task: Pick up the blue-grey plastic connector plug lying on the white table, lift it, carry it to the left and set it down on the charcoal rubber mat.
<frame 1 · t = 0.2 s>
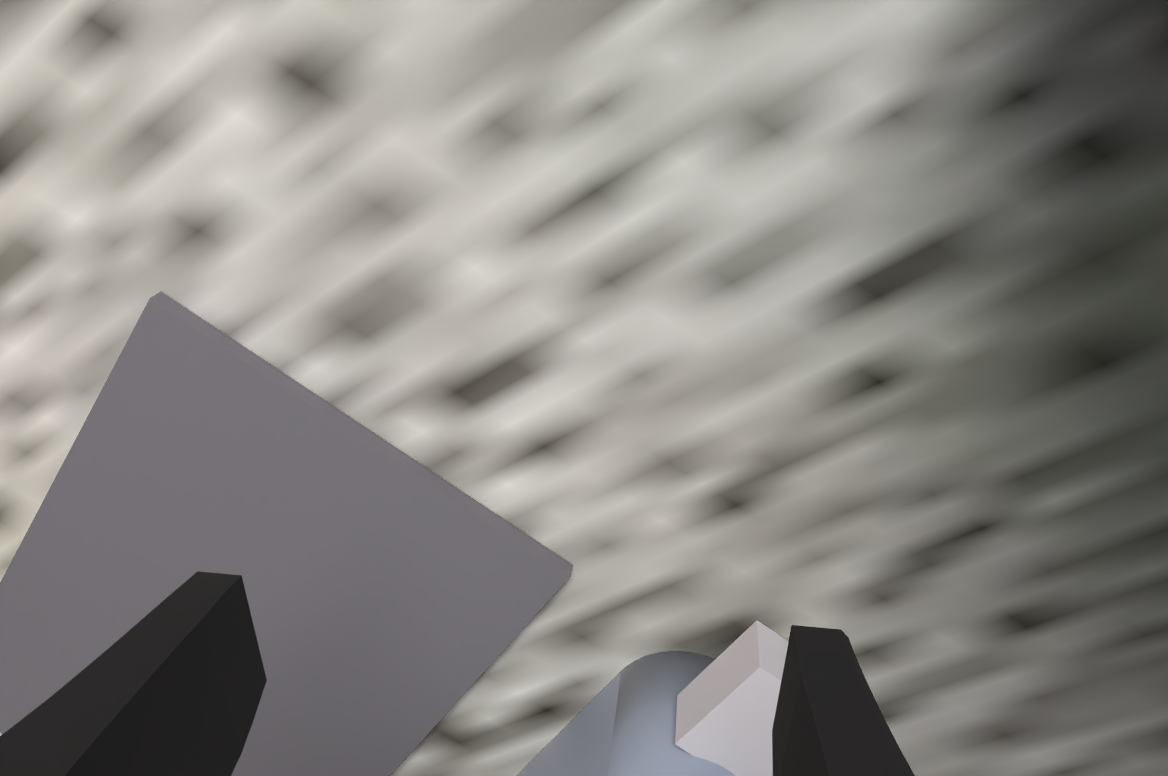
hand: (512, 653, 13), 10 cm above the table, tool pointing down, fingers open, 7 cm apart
mat: (235, 630, 27), on the table
connector: (615, 769, 28), on the table
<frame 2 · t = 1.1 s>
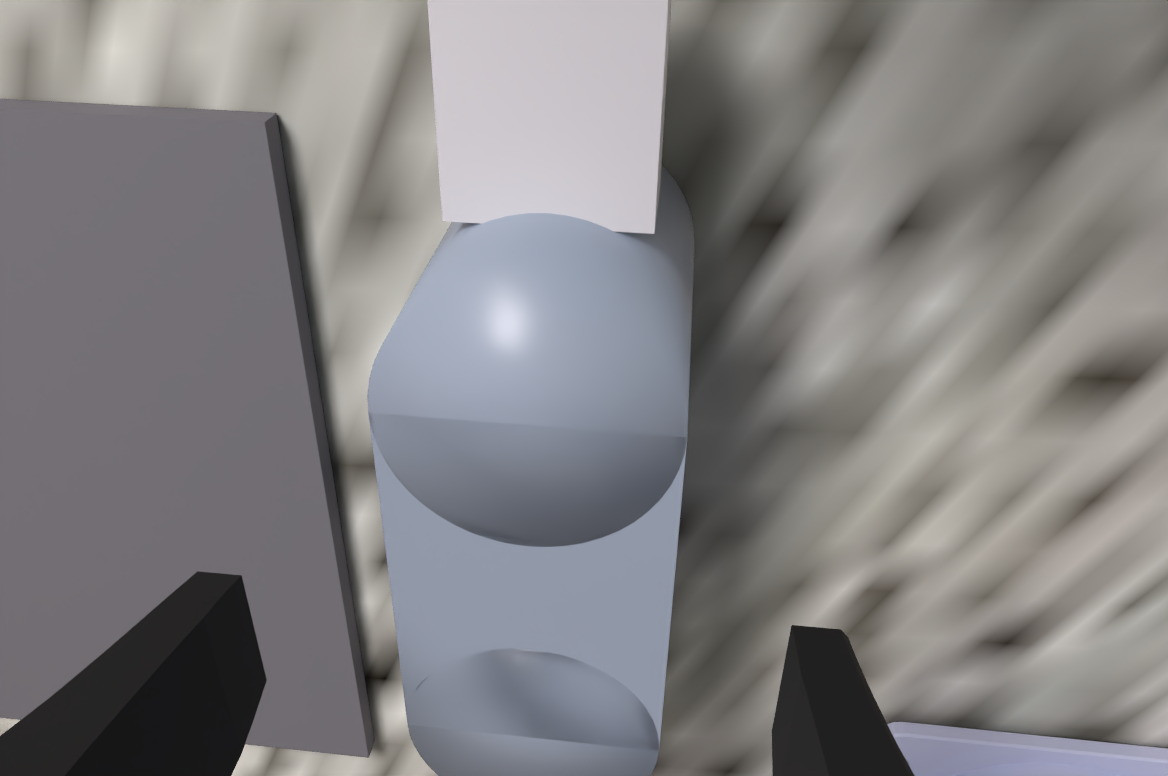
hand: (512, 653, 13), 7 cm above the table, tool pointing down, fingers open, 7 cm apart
mat: (63, 470, 21), on the table
connector: (575, 389, 18), on the table
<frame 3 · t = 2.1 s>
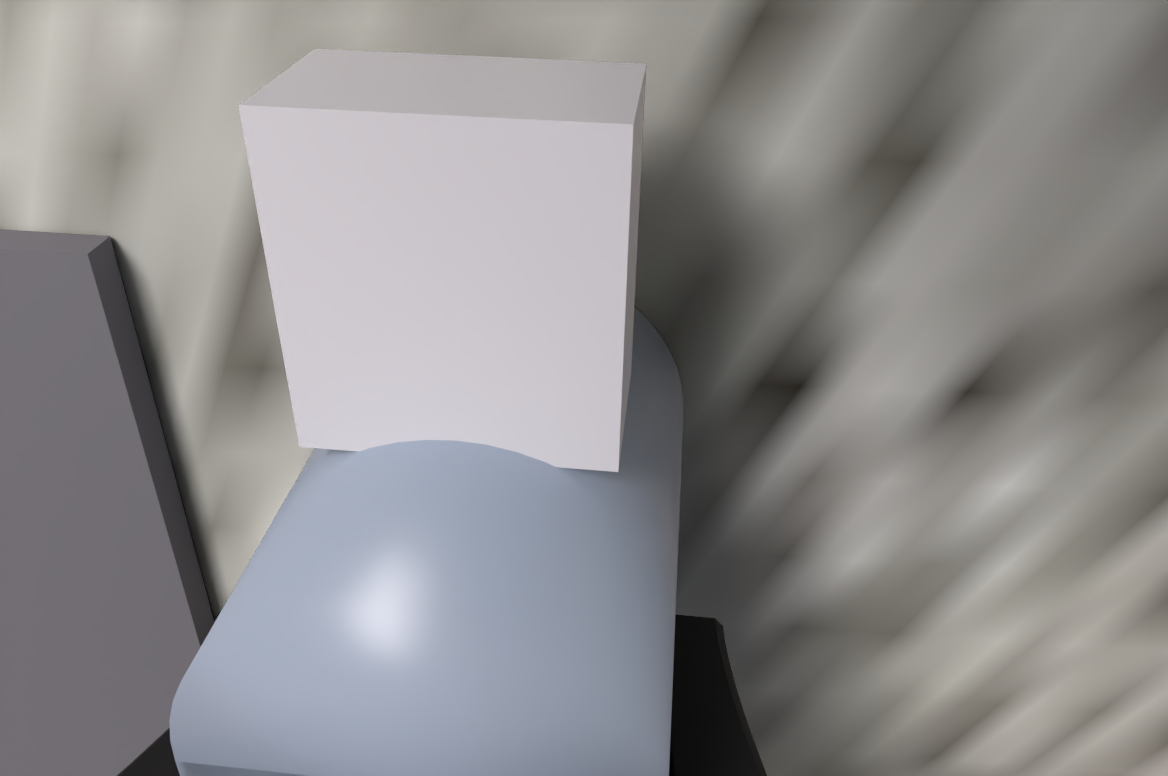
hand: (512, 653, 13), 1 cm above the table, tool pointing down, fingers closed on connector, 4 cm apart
connector: (529, 577, 14), on the table, touching gripper
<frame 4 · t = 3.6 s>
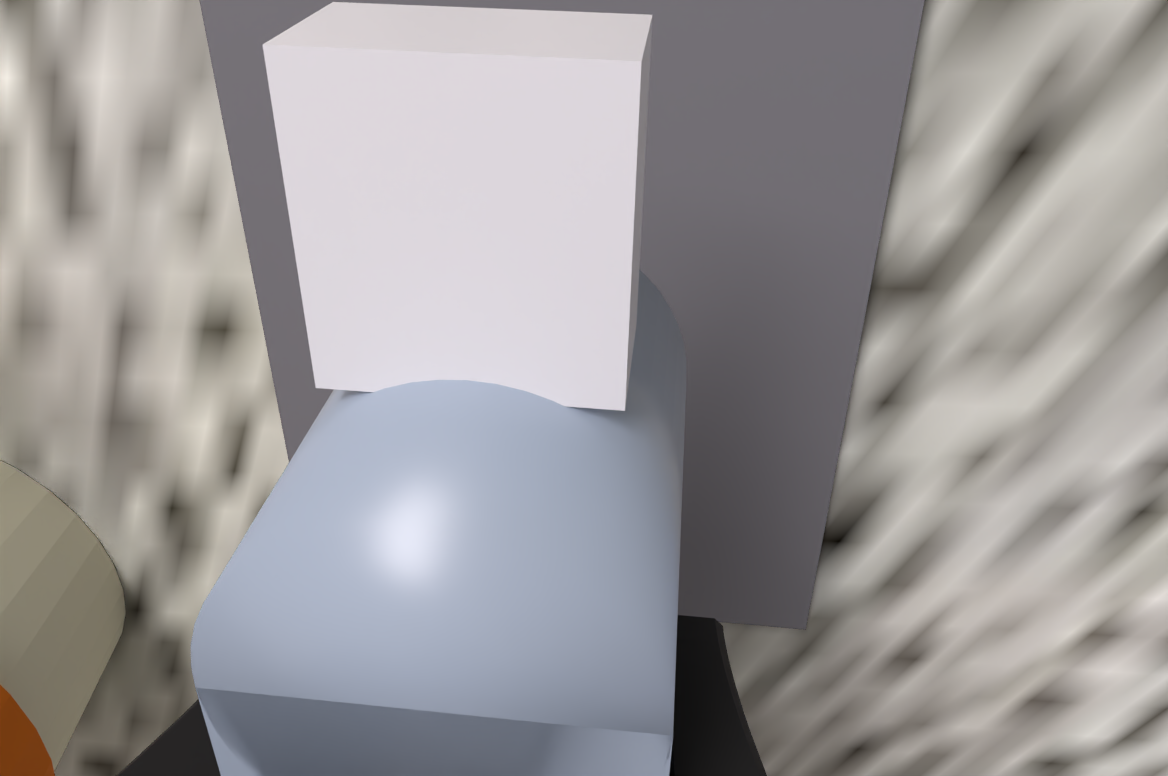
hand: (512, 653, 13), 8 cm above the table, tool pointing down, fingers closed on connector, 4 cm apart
mat: (554, 303, 20), on the table
connector: (534, 543, 14), point 7 cm above the table, touching gripper
when the fingers open (3 cm above the table, at t = 5.1 s): connector stays where it is, resting on mat.
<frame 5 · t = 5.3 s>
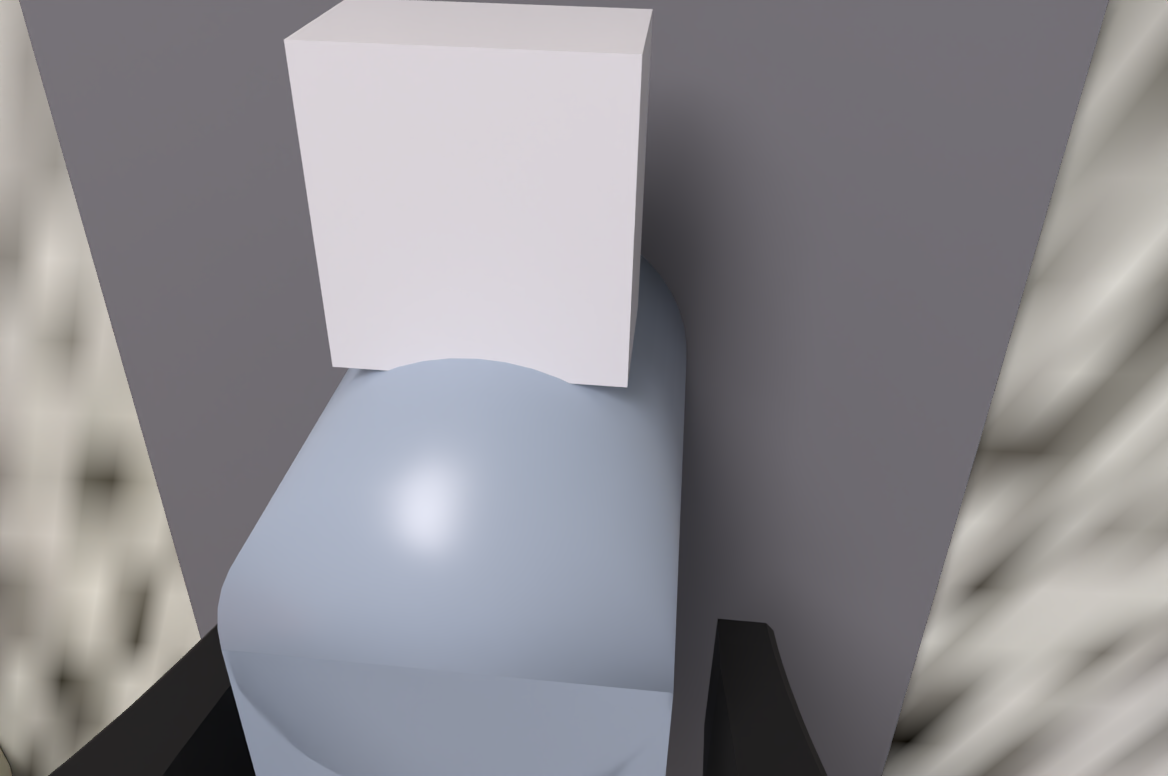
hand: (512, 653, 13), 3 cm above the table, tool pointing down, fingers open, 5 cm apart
mat: (543, 459, 15), on the table
connector: (539, 521, 15), resting on mat
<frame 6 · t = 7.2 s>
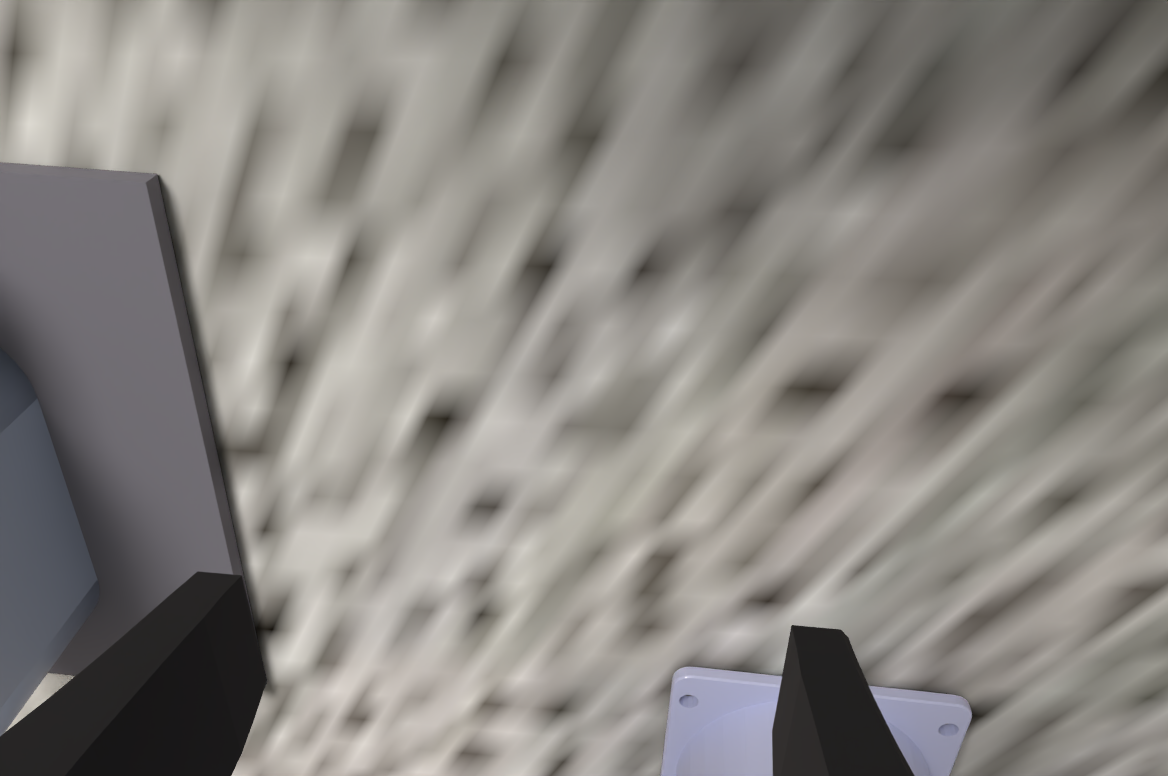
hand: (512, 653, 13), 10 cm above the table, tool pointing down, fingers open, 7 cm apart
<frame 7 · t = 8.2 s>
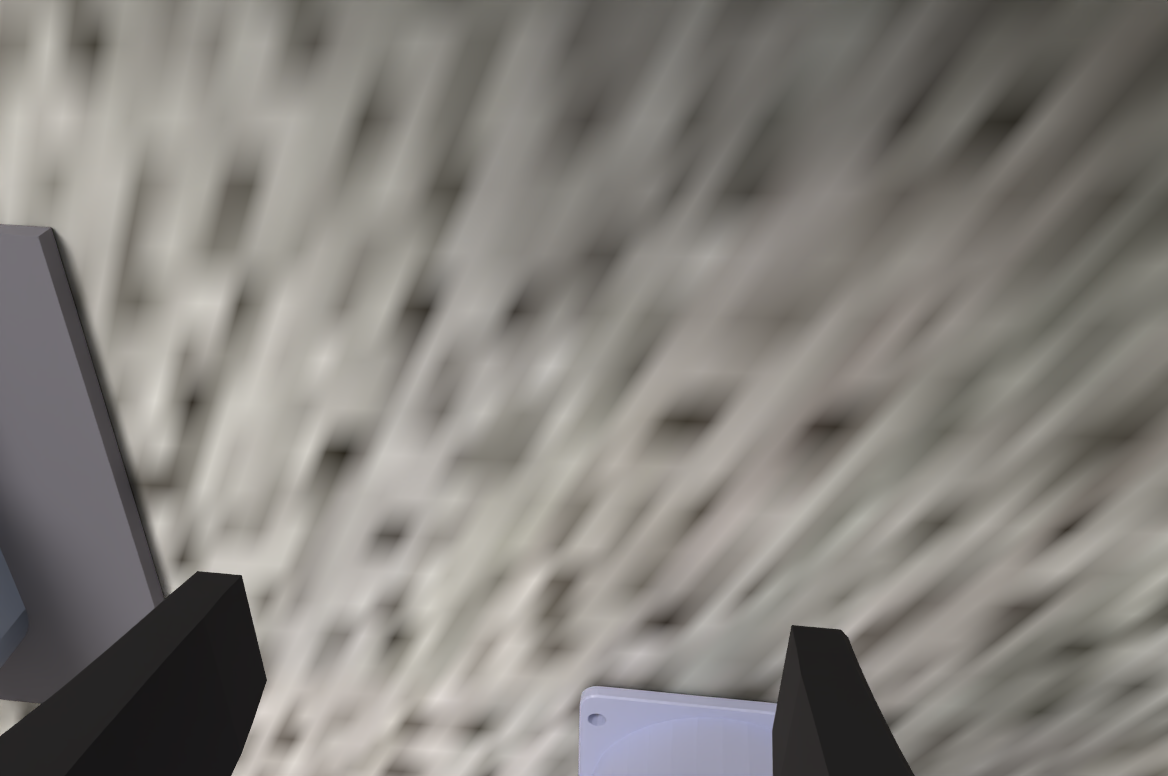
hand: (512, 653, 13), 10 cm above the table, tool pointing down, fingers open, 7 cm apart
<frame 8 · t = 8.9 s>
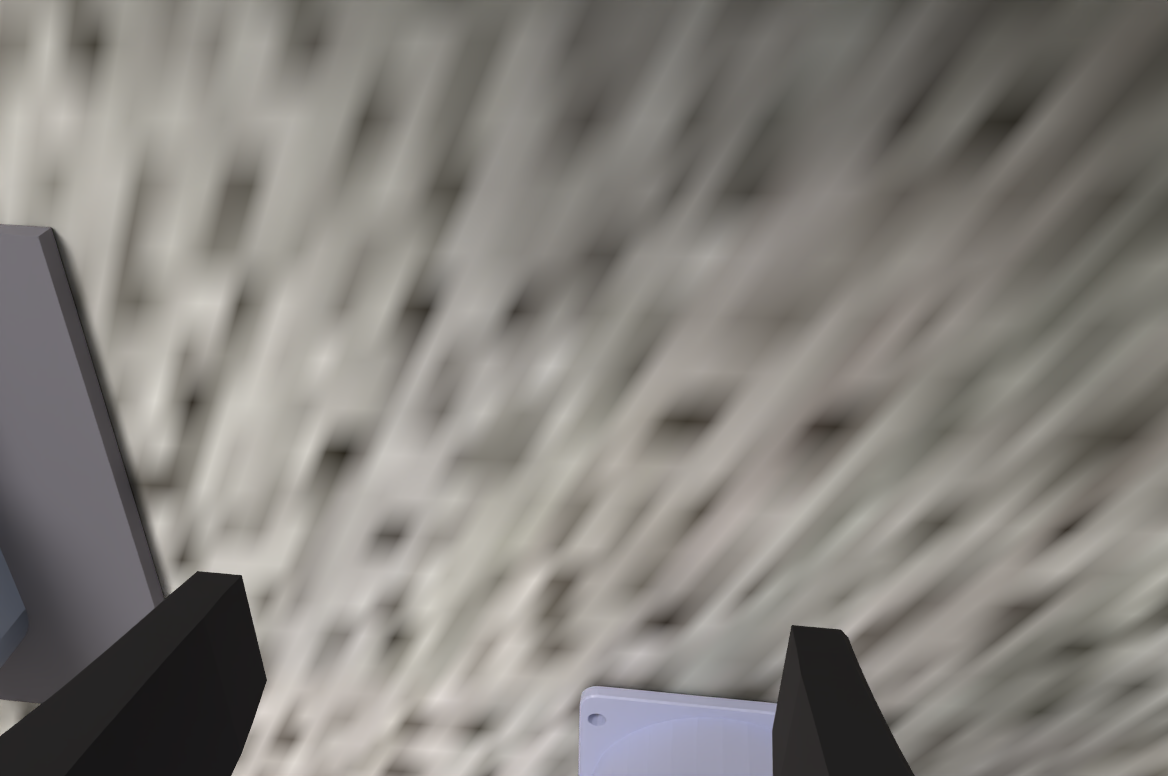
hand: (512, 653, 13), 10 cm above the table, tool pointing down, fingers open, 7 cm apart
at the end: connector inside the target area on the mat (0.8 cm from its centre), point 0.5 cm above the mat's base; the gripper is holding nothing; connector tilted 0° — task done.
